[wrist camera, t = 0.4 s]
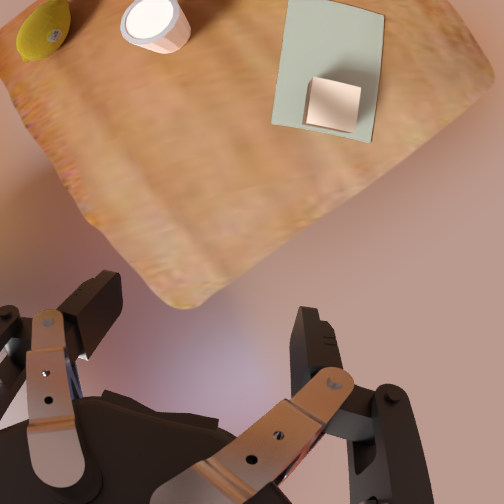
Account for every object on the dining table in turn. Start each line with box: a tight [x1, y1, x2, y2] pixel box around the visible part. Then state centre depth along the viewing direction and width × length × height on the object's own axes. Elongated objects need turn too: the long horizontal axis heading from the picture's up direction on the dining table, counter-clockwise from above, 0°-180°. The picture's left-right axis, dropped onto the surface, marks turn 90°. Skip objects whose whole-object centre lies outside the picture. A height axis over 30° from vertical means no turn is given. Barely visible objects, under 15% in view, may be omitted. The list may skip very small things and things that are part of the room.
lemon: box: [16, 0, 71, 62], centre depth 23 cm, size 11×8×8 cm
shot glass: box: [120, 0, 191, 54], centre depth 25 cm, size 7×7×7 cm
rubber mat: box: [271, 0, 384, 143], centre depth 28 cm, size 18×12×1 cm, turn 173°
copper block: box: [302, 77, 361, 133], centre depth 28 cm, size 5×5×5 cm
